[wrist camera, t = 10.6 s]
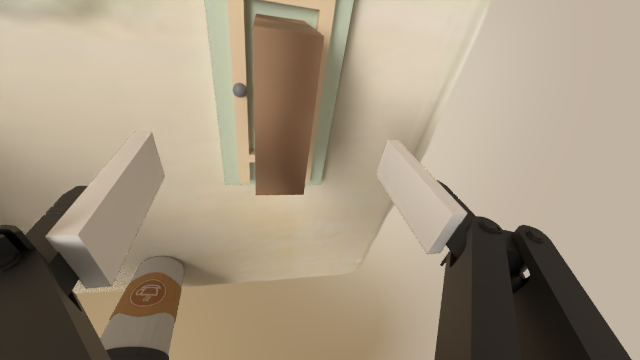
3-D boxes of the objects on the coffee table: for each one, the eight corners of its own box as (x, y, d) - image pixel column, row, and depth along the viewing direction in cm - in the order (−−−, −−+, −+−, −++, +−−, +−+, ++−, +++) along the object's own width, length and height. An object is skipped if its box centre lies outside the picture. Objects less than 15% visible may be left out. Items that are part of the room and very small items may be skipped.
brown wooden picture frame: (257, 142, 27) (255, 195, 20) (256, 13, 20) (252, 26, 13) (293, 143, 28) (304, 194, 21) (304, 20, 21) (325, 36, 14)
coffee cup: (193, 252, 38) (163, 367, 27) (190, 282, 43) (163, 392, 31) (130, 249, 35) (66, 375, 24) (133, 281, 40) (80, 401, 28)
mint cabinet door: (226, 177, 31) (223, 192, 29) (196, -101, 17) (186, -115, 15) (318, 177, 34) (322, 191, 32) (359, -62, 20) (371, -68, 17)
